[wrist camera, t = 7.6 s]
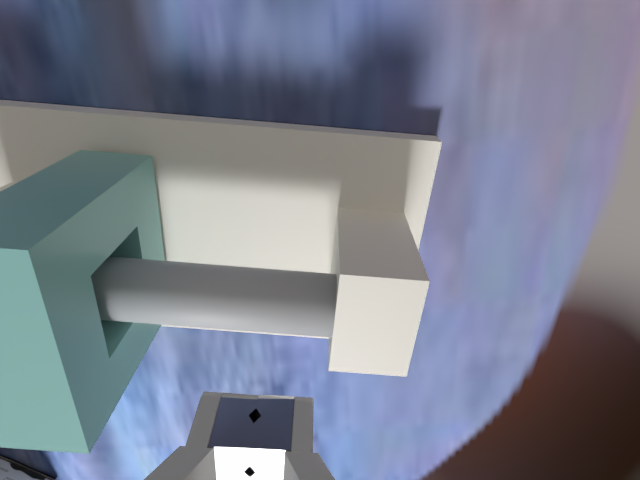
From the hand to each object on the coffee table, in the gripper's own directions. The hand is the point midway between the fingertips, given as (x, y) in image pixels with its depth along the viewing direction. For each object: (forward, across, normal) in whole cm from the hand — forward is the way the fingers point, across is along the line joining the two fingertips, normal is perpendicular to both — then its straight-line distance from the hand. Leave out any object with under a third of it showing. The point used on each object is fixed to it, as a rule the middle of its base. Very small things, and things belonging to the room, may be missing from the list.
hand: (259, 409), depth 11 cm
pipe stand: (+10, +4, 0) cm, 11 cm away
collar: (+9, +7, 0) cm, 12 cm away
